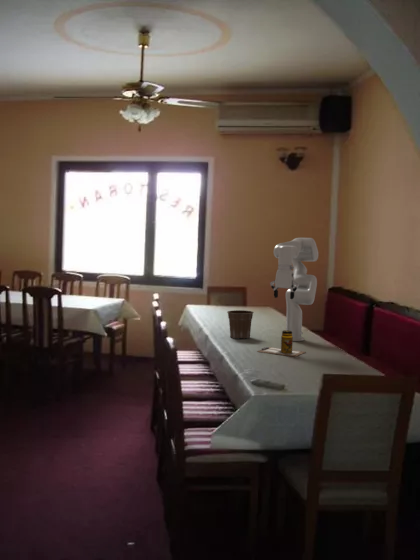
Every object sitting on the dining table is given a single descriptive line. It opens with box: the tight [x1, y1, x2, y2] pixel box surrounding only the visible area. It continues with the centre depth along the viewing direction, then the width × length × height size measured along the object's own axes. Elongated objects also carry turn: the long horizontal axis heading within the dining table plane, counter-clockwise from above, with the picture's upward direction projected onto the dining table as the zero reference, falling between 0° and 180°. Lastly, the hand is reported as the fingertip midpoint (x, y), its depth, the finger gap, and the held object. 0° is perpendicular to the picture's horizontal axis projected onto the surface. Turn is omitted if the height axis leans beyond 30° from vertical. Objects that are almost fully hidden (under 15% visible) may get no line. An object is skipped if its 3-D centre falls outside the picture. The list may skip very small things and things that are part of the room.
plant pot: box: [226, 309, 254, 340], centre depth 354 cm, size 16×16×16 cm
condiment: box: [275, 329, 294, 355], centre depth 307 cm, size 7×8×12 cm
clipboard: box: [257, 346, 307, 358], centre depth 311 cm, size 15×22×1 cm
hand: (283, 298), depth 322 cm, fingers open, 9 cm apart
